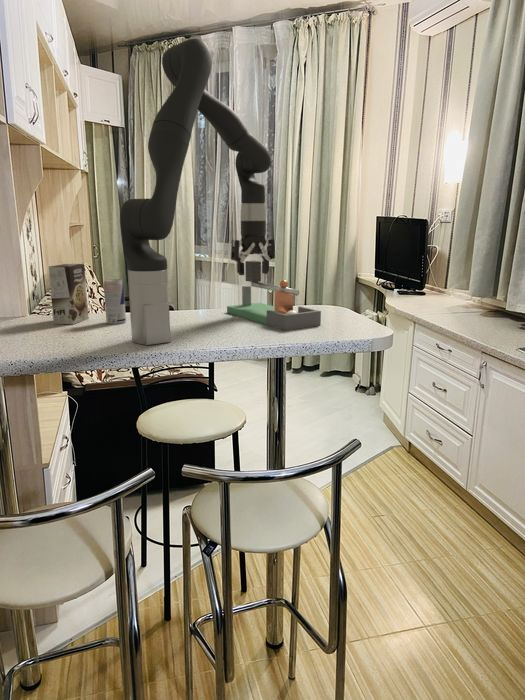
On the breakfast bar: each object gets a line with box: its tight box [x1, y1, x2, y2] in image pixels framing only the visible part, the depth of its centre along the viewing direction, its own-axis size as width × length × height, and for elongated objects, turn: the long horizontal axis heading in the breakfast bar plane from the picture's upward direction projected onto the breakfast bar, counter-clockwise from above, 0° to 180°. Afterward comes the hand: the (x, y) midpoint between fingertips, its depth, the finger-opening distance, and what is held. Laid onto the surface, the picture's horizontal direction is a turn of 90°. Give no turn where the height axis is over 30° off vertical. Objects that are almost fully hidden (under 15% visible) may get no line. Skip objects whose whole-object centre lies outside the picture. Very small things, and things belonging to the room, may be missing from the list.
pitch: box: [226, 285, 322, 331], centre depth 153 cm, size 31×12×8 cm, turn 34°
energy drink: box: [103, 278, 127, 325], centre depth 147 cm, size 5×5×12 cm
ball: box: [286, 309, 298, 315], centre depth 145 cm, size 4×4×4 cm
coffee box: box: [48, 263, 89, 325], centre depth 148 cm, size 9×6×16 cm
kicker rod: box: [244, 260, 300, 314], centre depth 152 cm, size 24×5×14 cm, turn 34°
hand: (253, 274), depth 159 cm, fingers open, 8 cm apart
